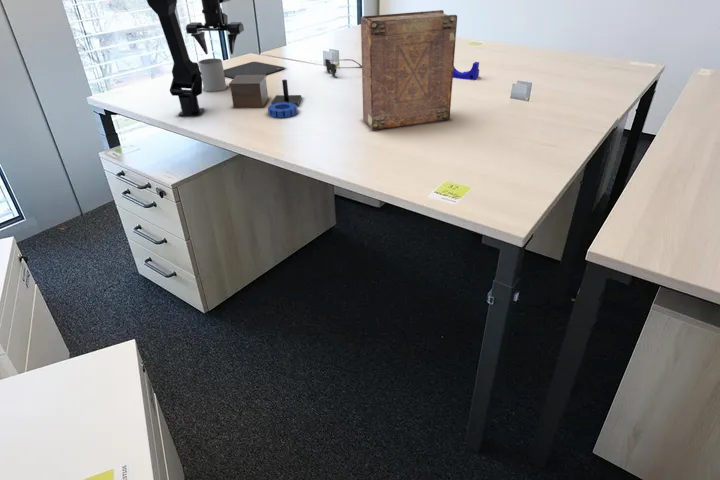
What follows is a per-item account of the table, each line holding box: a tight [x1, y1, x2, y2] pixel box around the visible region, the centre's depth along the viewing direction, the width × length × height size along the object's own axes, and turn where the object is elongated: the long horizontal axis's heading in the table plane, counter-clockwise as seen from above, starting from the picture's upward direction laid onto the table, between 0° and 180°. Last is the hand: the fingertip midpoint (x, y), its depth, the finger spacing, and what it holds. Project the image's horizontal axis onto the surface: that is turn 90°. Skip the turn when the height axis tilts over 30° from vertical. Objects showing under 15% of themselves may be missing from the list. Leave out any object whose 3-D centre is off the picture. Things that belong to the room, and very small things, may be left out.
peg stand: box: [270, 79, 302, 108], centre depth 165 cm, size 9×9×8 cm
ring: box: [267, 102, 298, 119], centre depth 157 cm, size 9×9×2 cm
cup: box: [198, 58, 227, 93], centre depth 180 cm, size 8×8×10 cm
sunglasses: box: [324, 58, 362, 78], centre depth 196 cm, size 14×16×5 cm
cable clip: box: [453, 61, 480, 81], centre depth 186 cm, size 12×4×6 cm, turn 62°
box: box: [228, 75, 269, 109], centre depth 165 cm, size 10×10×8 cm
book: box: [360, 9, 458, 131], centre depth 141 cm, size 25×9×30 cm, turn 107°
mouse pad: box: [223, 61, 286, 79], centre depth 202 cm, size 23×20×1 cm
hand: (219, 54), depth 170 cm, fingers open, 9 cm apart
